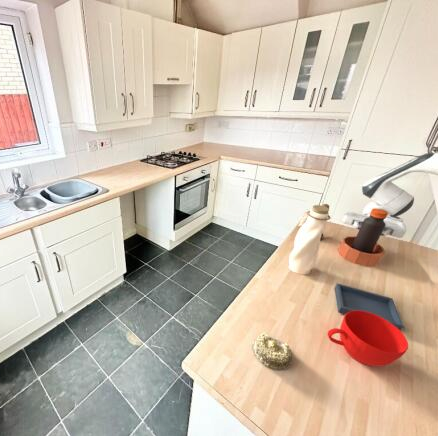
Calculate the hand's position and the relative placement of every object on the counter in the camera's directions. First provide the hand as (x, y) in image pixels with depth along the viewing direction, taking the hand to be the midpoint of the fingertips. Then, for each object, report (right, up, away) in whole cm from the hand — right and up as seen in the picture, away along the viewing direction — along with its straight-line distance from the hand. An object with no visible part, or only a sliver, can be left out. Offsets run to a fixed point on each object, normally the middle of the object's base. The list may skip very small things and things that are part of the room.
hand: (370, 231), depth 99 cm
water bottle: (-30, -15, +1) cm, 33 cm away
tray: (-18, -25, -17) cm, 36 cm away
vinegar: (+1, -9, +6) cm, 11 cm away
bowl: (+1, -11, +7) cm, 13 cm away
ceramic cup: (-34, -33, -31) cm, 56 cm away
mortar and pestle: (-9, -4, +21) cm, 23 cm away
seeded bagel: (-57, -33, -30) cm, 72 cm away
